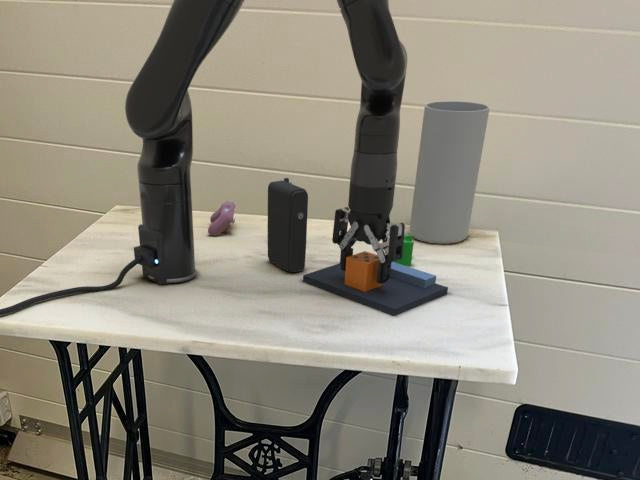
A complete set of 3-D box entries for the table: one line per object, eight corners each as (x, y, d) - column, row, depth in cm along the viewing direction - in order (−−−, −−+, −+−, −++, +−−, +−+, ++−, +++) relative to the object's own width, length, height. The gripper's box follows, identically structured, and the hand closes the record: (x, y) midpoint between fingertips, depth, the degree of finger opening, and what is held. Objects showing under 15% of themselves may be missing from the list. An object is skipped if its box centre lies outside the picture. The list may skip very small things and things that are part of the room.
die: (364, 292, 129) (367, 263, 126) (344, 284, 132) (346, 256, 129) (383, 285, 132) (386, 257, 129) (362, 278, 135) (365, 250, 132)
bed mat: (393, 315, 124) (395, 299, 122) (302, 281, 137) (303, 266, 135) (447, 293, 132) (449, 278, 130) (356, 263, 145) (357, 249, 143)
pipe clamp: (411, 271, 141) (414, 247, 139) (391, 270, 142) (394, 247, 139) (408, 252, 150) (411, 229, 147) (390, 251, 151) (393, 228, 148)
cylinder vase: (429, 224, 166) (447, 99, 151) (478, 235, 159) (501, 106, 144) (397, 236, 159) (412, 106, 144) (446, 248, 152) (468, 113, 137)
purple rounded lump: (224, 243, 160) (238, 213, 156) (205, 233, 158) (219, 203, 155) (226, 230, 167) (240, 201, 164) (208, 220, 166) (221, 191, 162)
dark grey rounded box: (308, 271, 141) (311, 189, 132) (290, 275, 140) (293, 192, 130) (282, 258, 147) (284, 178, 138) (265, 261, 146) (266, 181, 137)
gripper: (326, 175, 123) (320, 270, 133) (391, 191, 115) (380, 292, 125) (355, 168, 127) (348, 261, 137) (421, 183, 119) (408, 281, 129)
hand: (363, 276), depth 131 cm, fingers open, 8 cm apart
